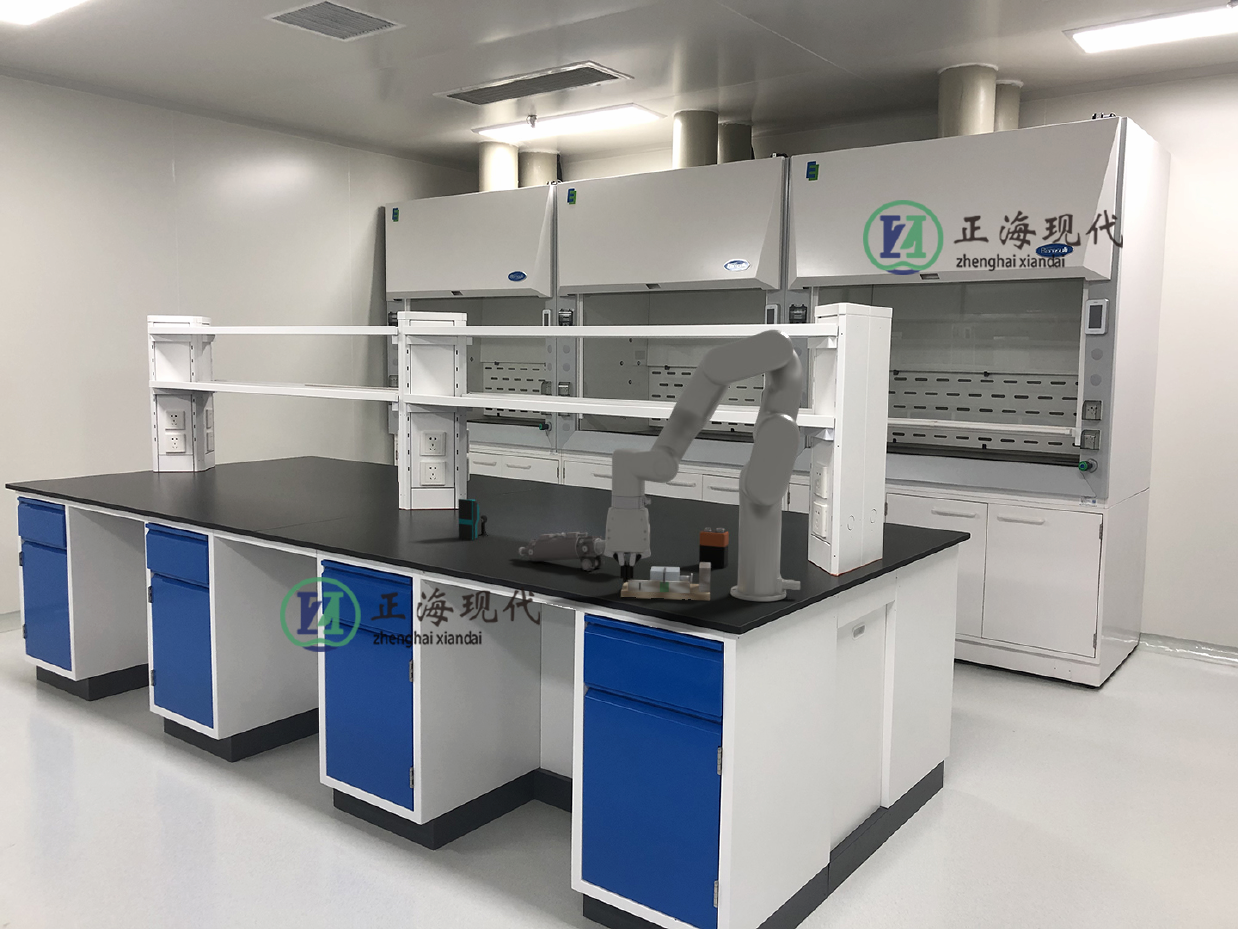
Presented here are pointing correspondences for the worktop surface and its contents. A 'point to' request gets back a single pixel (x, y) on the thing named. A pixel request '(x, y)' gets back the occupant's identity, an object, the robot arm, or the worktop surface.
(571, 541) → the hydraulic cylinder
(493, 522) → the worktop surface
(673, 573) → the force gauge
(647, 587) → the gauge stand
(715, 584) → the worktop surface
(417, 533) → the worktop surface
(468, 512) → the black teal case
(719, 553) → the battery
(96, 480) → the worktop surface
